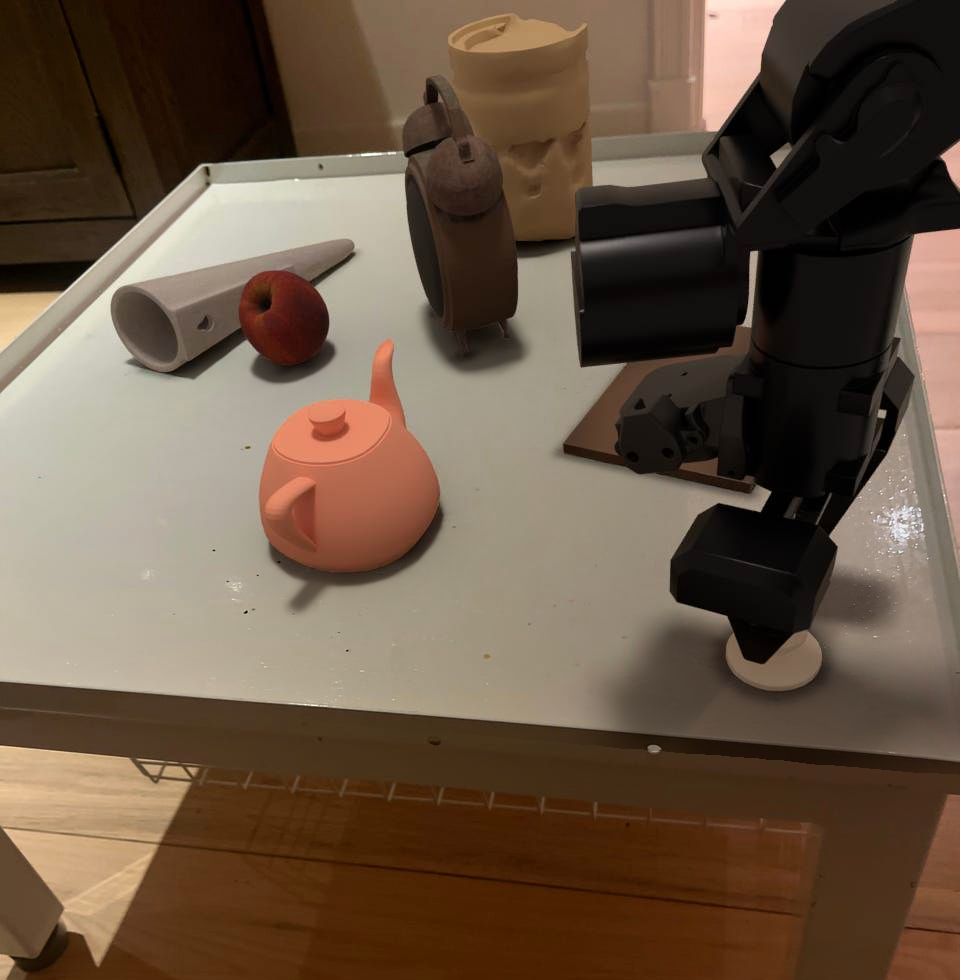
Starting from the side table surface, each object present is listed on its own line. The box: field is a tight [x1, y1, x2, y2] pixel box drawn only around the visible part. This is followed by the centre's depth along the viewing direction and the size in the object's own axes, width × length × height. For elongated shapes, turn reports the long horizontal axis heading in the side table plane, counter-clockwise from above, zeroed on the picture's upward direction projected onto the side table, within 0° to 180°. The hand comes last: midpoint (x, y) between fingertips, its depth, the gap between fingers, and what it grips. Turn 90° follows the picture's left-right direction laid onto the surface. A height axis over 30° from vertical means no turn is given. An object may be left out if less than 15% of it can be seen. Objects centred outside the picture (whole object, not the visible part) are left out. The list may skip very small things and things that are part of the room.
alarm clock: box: [401, 74, 519, 357], centre depth 78 cm, size 15×7×20 cm, turn 15°
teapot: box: [258, 339, 441, 573], centre depth 65 cm, size 12×18×10 cm
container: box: [447, 12, 594, 242], centre depth 92 cm, size 13×13×18 cm
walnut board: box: [562, 325, 755, 494], centre depth 73 cm, size 14×20×1 cm
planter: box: [110, 238, 356, 373], centre depth 93 cm, size 8×9×26 cm
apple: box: [239, 270, 330, 366], centre depth 83 cm, size 7×8×8 cm
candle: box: [725, 514, 823, 692], centre depth 51 cm, size 5×5×10 cm
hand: (782, 602), depth 51 cm, fingers open, 9 cm apart
